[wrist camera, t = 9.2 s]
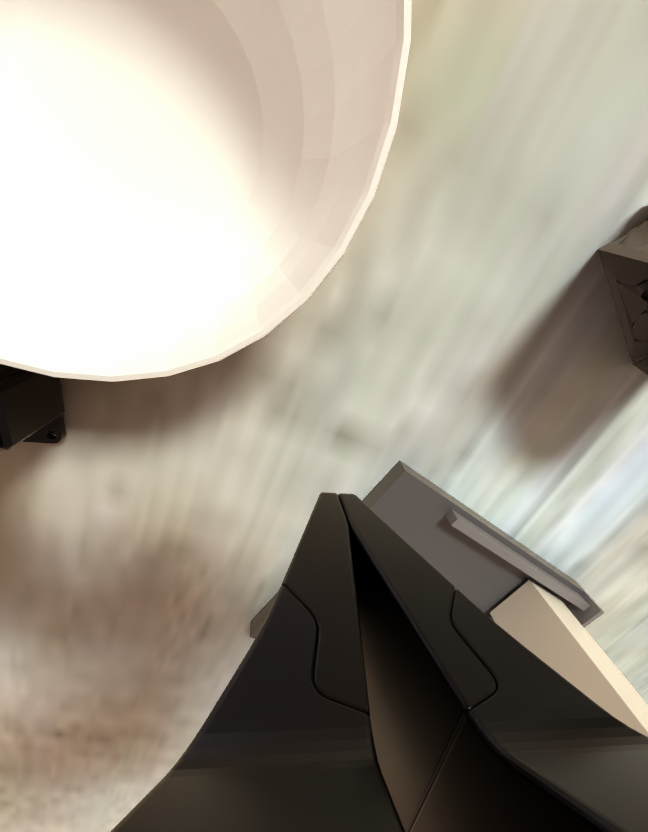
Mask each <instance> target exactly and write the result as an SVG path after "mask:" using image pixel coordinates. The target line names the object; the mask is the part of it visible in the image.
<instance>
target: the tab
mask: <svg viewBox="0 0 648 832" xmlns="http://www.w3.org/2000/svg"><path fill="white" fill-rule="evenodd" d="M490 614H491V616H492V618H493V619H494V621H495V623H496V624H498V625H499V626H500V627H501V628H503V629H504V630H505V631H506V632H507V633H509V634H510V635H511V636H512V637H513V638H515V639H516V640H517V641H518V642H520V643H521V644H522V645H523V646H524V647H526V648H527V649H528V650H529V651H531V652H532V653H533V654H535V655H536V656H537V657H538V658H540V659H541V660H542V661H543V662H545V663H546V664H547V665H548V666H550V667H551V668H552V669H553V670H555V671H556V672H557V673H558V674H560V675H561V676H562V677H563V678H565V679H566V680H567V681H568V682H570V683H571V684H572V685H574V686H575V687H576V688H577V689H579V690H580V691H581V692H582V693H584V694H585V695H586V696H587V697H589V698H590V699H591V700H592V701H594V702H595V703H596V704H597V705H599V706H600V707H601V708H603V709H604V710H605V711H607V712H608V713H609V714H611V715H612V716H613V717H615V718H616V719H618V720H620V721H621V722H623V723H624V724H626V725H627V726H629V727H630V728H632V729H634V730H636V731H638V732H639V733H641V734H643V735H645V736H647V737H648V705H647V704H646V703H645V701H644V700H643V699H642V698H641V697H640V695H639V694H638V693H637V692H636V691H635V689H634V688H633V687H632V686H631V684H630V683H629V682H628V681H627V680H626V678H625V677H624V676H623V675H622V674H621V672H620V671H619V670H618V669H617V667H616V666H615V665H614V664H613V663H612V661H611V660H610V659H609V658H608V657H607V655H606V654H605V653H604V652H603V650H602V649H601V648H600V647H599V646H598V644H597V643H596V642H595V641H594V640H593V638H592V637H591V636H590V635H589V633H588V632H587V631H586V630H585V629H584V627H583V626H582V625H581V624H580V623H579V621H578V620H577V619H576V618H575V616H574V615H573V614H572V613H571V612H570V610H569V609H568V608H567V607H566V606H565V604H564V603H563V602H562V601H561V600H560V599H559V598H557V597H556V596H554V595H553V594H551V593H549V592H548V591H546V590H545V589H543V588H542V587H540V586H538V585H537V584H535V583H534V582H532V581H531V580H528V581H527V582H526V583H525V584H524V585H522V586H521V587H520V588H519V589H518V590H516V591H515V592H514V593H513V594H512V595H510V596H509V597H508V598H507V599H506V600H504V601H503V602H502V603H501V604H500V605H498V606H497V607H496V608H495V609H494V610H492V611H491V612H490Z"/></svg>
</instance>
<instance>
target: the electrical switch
mask: <svg viewBox="0 0 648 832" xmlns="http://www.w3.org/2000/svg"><path fill="white" fill-rule="evenodd" d="M598 250H600V255H601V258H602V262H603V265H604V268H605V272H606V275H607V279H608V282H609V285H610V289H611V292H612V295H613V299H614V302H615V305H616V309H617V312H618V315H619V319H620V322H621V325H622V329H623V332H624V335H625V339H626V342H627V345H628V349H629V352H630V355H631V359H632V361H633V362H634V361H636V360H639V359H641V358H643V359H641V360H639V361H637V362H635V363H632V364H633V365H634V366H636V367H637V368H639V369H640V370H642V371H643V372H645V373H646V374H647V375H648V357H647V356H648V312H646V313H644V314H642V313H643V311H648V301H644V300H643V299H642V294H643V292H644V290H646V289H647V288H648V280H647V281H646V282H645V283H642V284H640V285H638V284H639V283H641V282H642V281H644V280H646V279H647V278H648V220H647V221H645V222H643V223H642V224H640V225H638V226H636V227H634V228H633V229H632V230H630V231H629V232H628V233H626V234H625V235H624V236H622V237H620V238H618V239H616V240H614V241H613V242H611V243H609V244H607V245H605V246H603V247H601V248H600V249H598ZM617 280H618V282H619V283H618V282H617ZM635 285H638V286H635ZM641 314H642V315H641ZM634 321H635V322H634ZM633 322H634V325H633ZM633 337H634V338H633ZM635 338H636V339H635ZM644 357H646V358H644Z"/></svg>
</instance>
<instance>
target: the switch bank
mask: <svg viewBox="0 0 648 832" xmlns="http://www.w3.org/2000/svg"><path fill="white" fill-rule="evenodd" d="M362 502H363V503H365V504H366V505H367V506H368V507H369V508H370V509H371V510H372V511H373V512H374V513H375V514H377V515H378V516H379V517H380V518H381V519H382V520H383V521H384V522H385V523H386V524H387V525H389V526H390V527H391V528H392V529H393V530H394V531H395V532H396V533H397V534H398V535H399V536H401V537H402V538H403V539H404V540H405V541H406V542H407V543H408V544H409V545H410V546H411V547H412V548H414V549H415V550H416V551H417V552H418V553H419V554H420V555H421V556H422V557H423V558H424V559H426V560H427V561H428V562H429V563H430V564H431V565H432V566H433V567H434V568H435V569H436V570H438V571H439V572H440V573H441V574H442V575H443V576H444V577H445V578H446V579H447V580H448V581H449V582H451V583H452V584H453V585H454V586H455V590H456V589H458V590H459V591H461V592H462V593H463V594H464V595H465V596H466V597H467V598H468V599H469V600H470V601H471V602H473V603H474V604H475V605H476V606H477V607H478V608H479V609H480V610H482V611H483V612H484V613H485V614H486V615H487V616H488V617H490V618H491V619H492V620H493V621H494V619H493V618H492V616H491V614H490V612H491V611H492V610H494V609H495V608H496V607H497V606H498V605H500V604H501V603H502V602H503V601H504V600H506V599H507V598H508V597H509V596H510V595H512V594H513V593H514V592H515V591H516V590H518V589H519V588H520V587H521V586H522V585H524V584H525V583H526V582H527V581H528V580H531V581H532V582H534V583H535V584H537V585H538V586H540V587H542V588H543V589H545V590H546V591H548V592H549V593H551V594H553V595H554V596H556V597H557V598H559V599H560V600H561V601H562V602H563V603H564V604H565V606H566V607H567V608H568V609H569V610H570V612H571V613H572V614H573V615H574V616H575V618H576V619H577V620H578V621H579V623H580V624H581V625H582V626H583V627H586V626H587V625H588V624H590V623H591V622H592V621H594V620H595V619H596V618H598V617H599V616H600V615H602V614H603V613H604V611H603V610H602V609H601V608H600V607H599V606H598V605H597V604H596V603H595V601H594V600H593V599H592V598H591V597H590V596H589V595H588V594H587V593H586V592H585V591H584V589H583V588H582V587H581V586H580V585H579V584H578V583H577V582H576V581H575V580H573V579H572V578H570V577H569V576H567V575H566V574H564V573H563V572H562V571H560V570H559V569H557V568H556V567H554V566H553V565H551V564H550V563H548V562H547V561H546V560H544V559H543V558H541V557H540V556H538V555H537V554H535V553H534V552H532V551H531V550H529V549H528V548H527V547H525V546H524V545H522V544H521V543H519V542H518V541H516V540H515V539H513V538H512V537H510V536H509V535H508V534H506V533H505V532H503V531H502V530H500V529H499V528H497V527H496V526H494V525H493V524H491V523H490V522H489V521H487V520H486V519H484V518H483V517H481V516H480V515H478V514H477V513H475V512H474V511H472V510H471V509H470V508H468V507H467V506H465V505H464V504H462V503H461V502H459V501H458V500H456V499H455V498H454V497H452V496H451V495H449V494H448V493H446V492H445V491H443V490H442V489H440V488H439V487H437V486H436V485H435V484H433V483H432V482H430V481H429V480H427V479H426V478H424V477H423V476H421V475H420V474H418V473H417V472H416V471H414V470H413V469H411V468H410V467H408V466H407V465H405V464H404V463H402V462H401V461H399V462H398V463H397V464H396V465H395V466H394V467H393V468H392V470H391V471H390V472H389V473H388V474H387V475H386V476H385V477H384V478H383V479H382V480H381V481H380V483H379V484H378V485H377V486H376V487H375V488H374V489H373V490H372V491H371V492H370V493H369V494H368V496H367V497H366V498H365V499H364V500H363V501H362ZM277 594H278V593H277ZM277 594H276V595H275V596H274V597H273V598H272V599H271V601H270V602H269V603H268V604H267V605H266V606H265V607H264V608H263V609H262V610H261V611H260V612H259V613H258V615H257V616H256V617H255V618H254V619H253V620H252V621H251V628H250V637H252V638H254V639H255V638H256V637H257V635H258V633H259V631H260V630H261V628H262V626H263V624H264V622H265V620H266V618H267V616H268V614H269V612H270V609H271V607H272V605H273V603H274V601H275V599H276V596H277ZM494 622H495V621H494Z"/></svg>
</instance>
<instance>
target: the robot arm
mask: <svg viewBox="0 0 648 832" xmlns="http://www.w3.org/2000/svg"><path fill="white" fill-rule="evenodd" d="M64 411H65V409H64V402H63V396H62V390H61V383H60V378H59V377H52V376H48V375H44V374H40V373H36V372H31V371H27V370H23V369H19V368H15V367H11V366H7V365H3V364H0V451H1V450H3V449H5V450H8V449H11V448H12V447H14V446H15V445H17V444H18V443H20V442H21V441H23V442H38V443H58V442H60V441H61V440H62V439H64V437H65V436H66V431H65V424H64V418H63V413H64ZM51 431H53V432H54V433H56V435H57V436H54V435H53V434H52V433H51ZM111 832H648V737H647V736H645V735H643V734H641V733H639V732H638V731H636V730H634V729H632V728H630V727H629V726H627V725H626V724H624V723H623V722H621V721H620V720H618V719H616V718H615V717H613V716H612V715H611V714H609V713H608V712H607V711H605V710H604V709H603V708H601V707H600V706H599V705H597V704H596V703H595V702H594V701H592V700H591V699H590V698H589V697H587V696H586V695H585V694H584V693H582V692H581V691H580V690H579V689H577V688H576V687H575V686H574V685H572V684H571V683H570V682H568V681H567V680H566V679H565V678H563V677H562V676H561V675H560V674H558V673H557V672H556V671H555V670H553V669H552V668H551V667H550V666H548V665H547V664H546V663H545V662H543V661H542V660H541V659H540V658H538V657H537V656H536V655H535V654H533V653H532V652H531V651H529V650H528V649H527V648H526V647H524V646H523V645H522V644H521V643H520V642H518V641H517V640H516V639H515V638H513V637H512V636H511V635H510V634H509V633H507V632H506V631H505V630H504V629H503V628H501V627H500V626H499V625H498V624H496V623H495V622H494V621H493V620H492V619H491V618H490V617H488V616H487V615H486V614H485V613H484V612H483V611H482V610H480V609H479V608H478V607H477V606H476V605H475V604H474V603H473V602H471V601H470V600H469V599H468V598H467V597H466V596H465V595H464V594H463V593H462V592H461V591H459V590H458V589H456V590H455V586H454V585H453V584H452V583H451V582H449V581H448V580H447V579H446V578H445V577H444V576H443V575H442V574H441V573H440V572H439V571H438V570H436V569H435V568H434V567H433V566H432V565H431V564H430V563H429V562H428V561H427V560H426V559H424V558H423V557H422V556H421V555H420V554H419V553H418V552H417V551H416V550H415V549H414V548H412V547H411V546H410V545H409V544H408V543H407V542H406V541H405V540H404V539H403V538H402V537H401V536H399V535H398V534H397V533H396V532H395V531H394V530H393V529H392V528H391V527H390V526H389V525H387V524H386V523H385V522H384V521H383V520H382V519H381V518H380V517H379V516H378V515H377V514H375V513H374V512H373V511H372V510H371V509H370V508H369V507H368V506H367V505H366V504H365V503H363V502H362V501H361V500H360V499H359V498H358V497H357V496H356V495H354V494H338V495H337V494H336V493H324V492H323V493H321V494H320V495H319V497H318V500H317V502H316V505H315V507H314V509H313V512H312V514H311V516H310V519H309V521H308V524H307V526H306V528H305V531H304V533H303V535H302V538H301V540H300V542H299V545H298V547H297V550H296V552H295V554H294V557H293V559H292V561H291V564H290V566H289V568H288V571H287V573H286V576H285V578H284V580H283V583H282V586H281V587H280V589H279V591H278V594H277V596H276V599H275V601H274V603H273V605H272V607H271V609H270V612H269V614H268V616H267V618H266V620H265V622H264V624H263V626H262V628H261V630H260V631H259V633H258V635H257V637H256V638H255V640H254V642H253V644H252V646H251V647H250V649H249V651H248V652H247V654H246V656H245V657H244V659H243V661H242V662H241V664H240V665H239V667H238V669H237V670H236V672H235V674H234V675H233V677H232V679H231V680H230V682H229V683H228V685H227V687H226V688H225V690H224V692H223V693H222V695H221V697H220V698H219V700H218V701H217V703H216V705H215V706H214V708H213V710H212V711H211V713H210V715H209V716H208V718H207V719H206V721H205V723H204V724H203V726H202V727H201V729H200V730H199V732H198V733H197V735H196V737H195V738H194V739H193V741H192V742H191V744H190V745H189V747H188V748H187V750H186V751H185V752H184V754H183V755H182V756H181V758H180V759H179V760H178V762H177V763H176V764H175V765H174V767H173V768H172V769H171V770H170V771H169V773H168V774H167V775H166V776H165V777H164V778H163V779H162V780H161V781H160V782H159V783H158V784H157V785H156V786H155V787H154V788H153V789H152V790H151V791H150V792H149V793H148V794H147V795H146V796H145V797H144V798H143V799H142V800H141V801H140V802H139V803H138V804H137V805H136V806H135V807H134V808H133V810H132V811H131V812H130V813H129V814H128V815H127V816H126V817H125V818H124V819H123V820H122V821H121V822H120V823H119V824H118V825H117V826H116V827H115V828H114V829H113V830H112V831H111Z"/></svg>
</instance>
